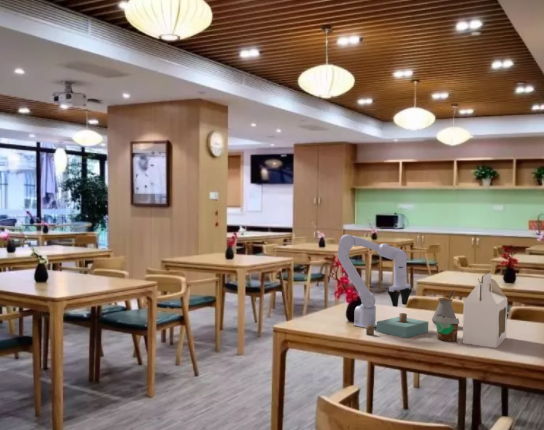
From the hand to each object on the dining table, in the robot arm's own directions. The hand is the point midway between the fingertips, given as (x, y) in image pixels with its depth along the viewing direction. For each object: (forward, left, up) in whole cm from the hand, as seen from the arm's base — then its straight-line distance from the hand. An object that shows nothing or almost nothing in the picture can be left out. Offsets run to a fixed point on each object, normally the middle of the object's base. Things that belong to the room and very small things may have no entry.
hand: (399, 305), depth 264 cm
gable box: (+38, +7, -11) cm, 40 cm away
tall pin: (+6, -6, -10) cm, 13 cm away
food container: (+26, -6, -10) cm, 29 cm away
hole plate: (+6, -6, -10) cm, 13 cm away
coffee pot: (+11, +24, -10) cm, 28 cm away
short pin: (0, -22, -10) cm, 24 cm away
